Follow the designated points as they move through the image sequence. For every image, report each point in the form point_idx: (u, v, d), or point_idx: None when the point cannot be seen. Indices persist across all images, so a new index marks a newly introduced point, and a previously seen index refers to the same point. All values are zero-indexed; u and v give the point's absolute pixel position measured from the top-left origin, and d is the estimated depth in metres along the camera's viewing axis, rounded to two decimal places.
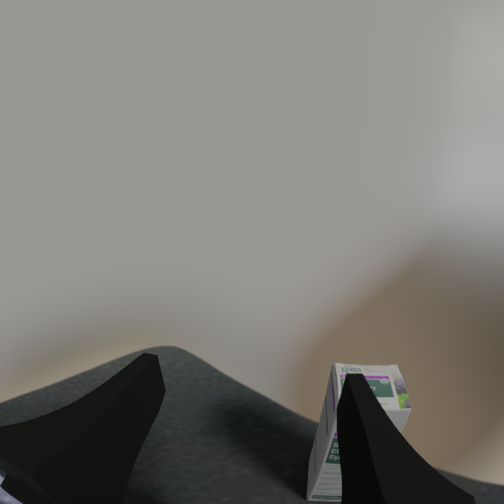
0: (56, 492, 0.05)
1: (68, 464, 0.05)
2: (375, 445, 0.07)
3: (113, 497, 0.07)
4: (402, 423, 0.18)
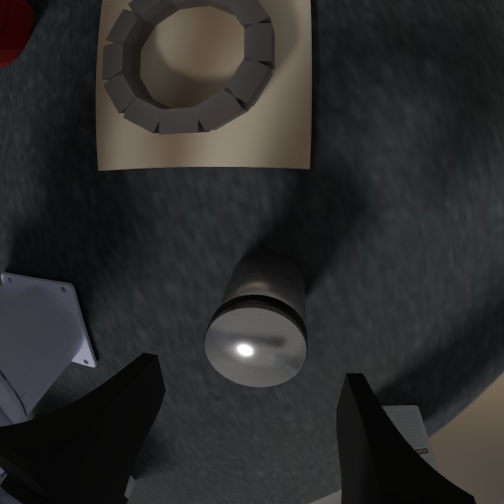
0: (56, 492, 0.05)
1: (67, 465, 0.05)
2: (375, 445, 0.07)
3: (113, 497, 0.07)
4: None
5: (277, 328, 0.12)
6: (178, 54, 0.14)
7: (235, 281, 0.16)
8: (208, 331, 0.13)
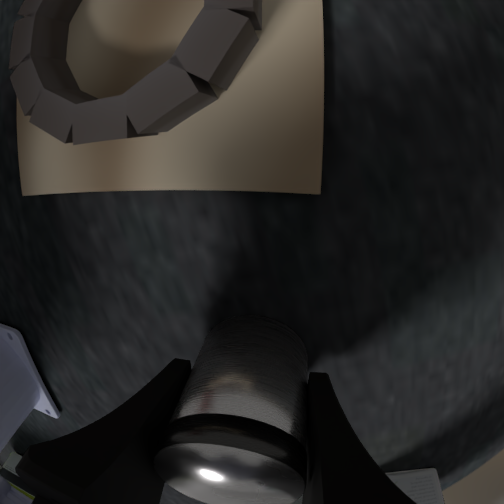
0: None
1: (111, 483, 0.05)
2: (326, 446, 0.07)
3: None
4: None
5: (259, 469, 0.07)
6: (116, 20, 0.08)
7: (201, 371, 0.10)
8: (156, 458, 0.07)
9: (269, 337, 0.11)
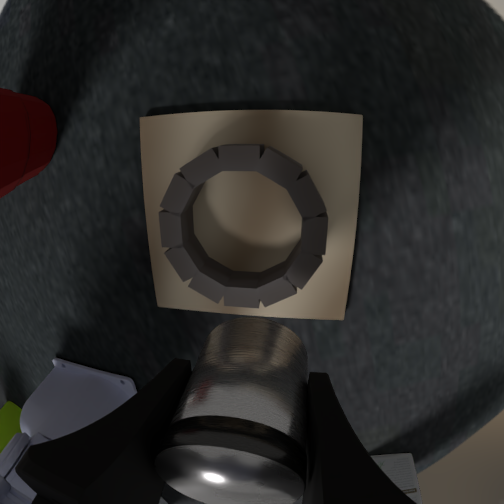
0: None
1: (111, 483, 0.05)
2: (326, 446, 0.07)
3: None
4: None
5: (258, 470, 0.07)
6: (232, 217, 0.17)
7: (200, 373, 0.10)
8: (156, 460, 0.07)
9: (268, 338, 0.11)
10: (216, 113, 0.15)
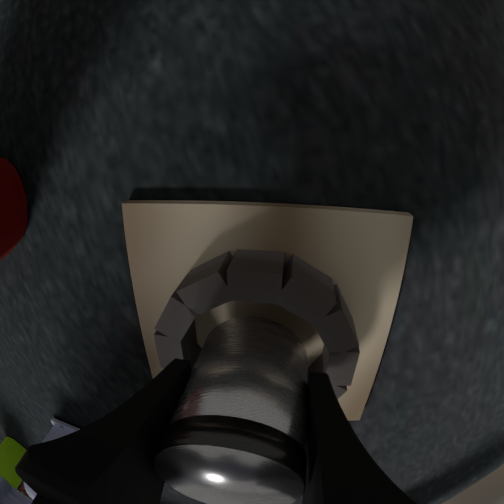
0: None
1: (111, 483, 0.05)
2: (326, 446, 0.07)
3: None
4: None
5: (257, 469, 0.07)
6: None
7: (200, 373, 0.10)
8: (156, 460, 0.07)
9: (267, 338, 0.11)
10: (222, 208, 0.12)
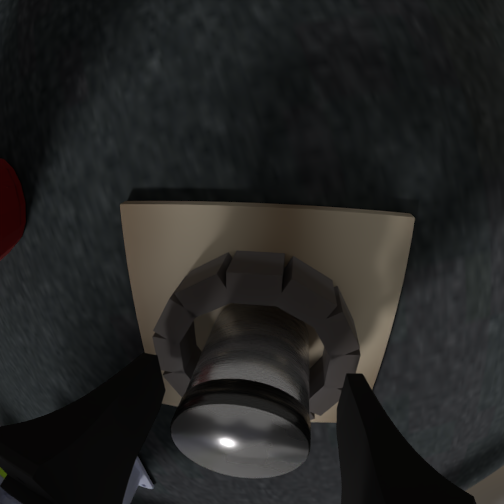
0: (56, 492, 0.05)
1: (67, 465, 0.05)
2: (375, 445, 0.07)
3: (113, 497, 0.07)
4: None
5: (267, 428, 0.08)
6: None
7: (212, 346, 0.11)
8: (173, 424, 0.08)
9: (273, 315, 0.12)
10: (221, 209, 0.12)
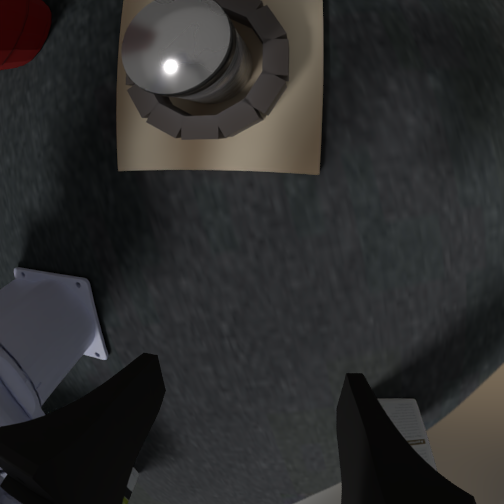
0: (56, 492, 0.05)
1: (67, 465, 0.05)
2: (375, 445, 0.07)
3: (113, 497, 0.07)
4: None
5: (195, 6, 0.09)
6: None
7: None
8: (127, 30, 0.09)
9: None
10: None
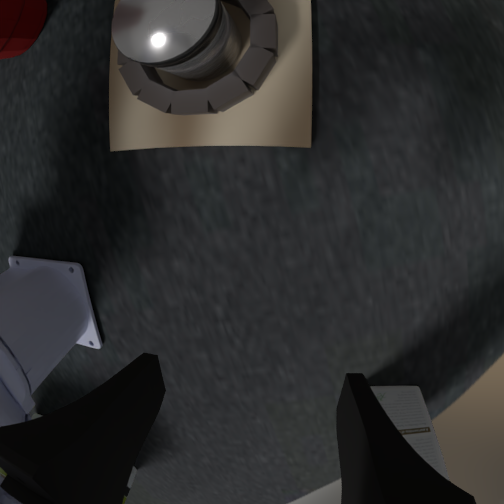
0: (56, 492, 0.05)
1: (68, 464, 0.05)
2: (375, 445, 0.07)
3: (113, 497, 0.07)
4: None
5: None
6: None
7: None
8: (117, 6, 0.09)
9: None
10: None
